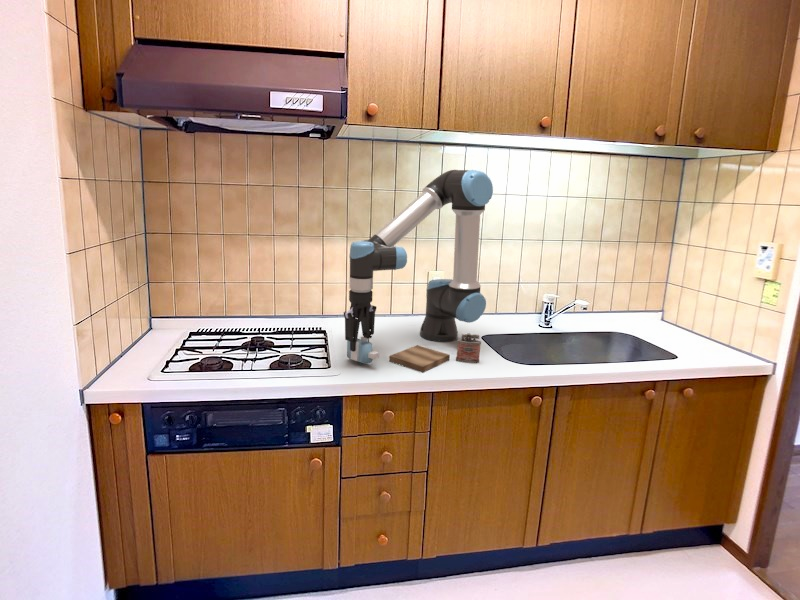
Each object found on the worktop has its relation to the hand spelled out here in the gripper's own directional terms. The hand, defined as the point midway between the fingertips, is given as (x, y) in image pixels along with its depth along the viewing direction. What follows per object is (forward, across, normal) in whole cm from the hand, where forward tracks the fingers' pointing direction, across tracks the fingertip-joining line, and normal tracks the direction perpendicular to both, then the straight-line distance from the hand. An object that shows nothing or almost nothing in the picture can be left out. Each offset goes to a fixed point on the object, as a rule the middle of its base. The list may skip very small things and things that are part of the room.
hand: (359, 357), depth 166 cm
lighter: (+3, -29, +25) cm, 38 cm away
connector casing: (0, 0, +1) cm, 1 cm away
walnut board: (+2, -17, +13) cm, 21 cm away
